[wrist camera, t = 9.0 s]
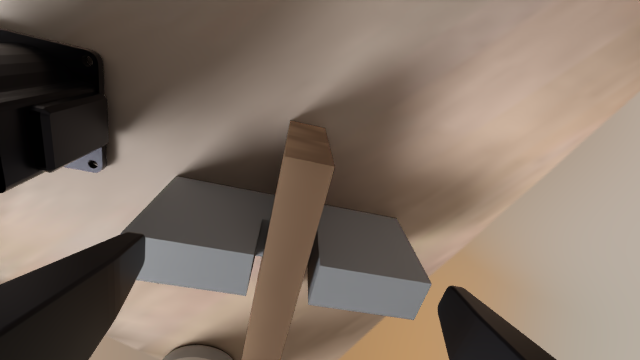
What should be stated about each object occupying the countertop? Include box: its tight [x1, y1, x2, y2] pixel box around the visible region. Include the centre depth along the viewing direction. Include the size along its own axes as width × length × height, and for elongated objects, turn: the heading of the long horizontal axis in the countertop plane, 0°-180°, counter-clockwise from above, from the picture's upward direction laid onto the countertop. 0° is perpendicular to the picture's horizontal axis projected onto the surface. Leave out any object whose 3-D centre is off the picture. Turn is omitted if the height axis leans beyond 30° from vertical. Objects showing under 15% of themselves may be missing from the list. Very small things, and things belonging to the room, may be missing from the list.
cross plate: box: [242, 120, 335, 360], centre depth 17 cm, size 2×12×6 cm, turn 166°
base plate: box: [121, 176, 431, 320], centre depth 17 cm, size 14×2×6 cm, turn 76°
